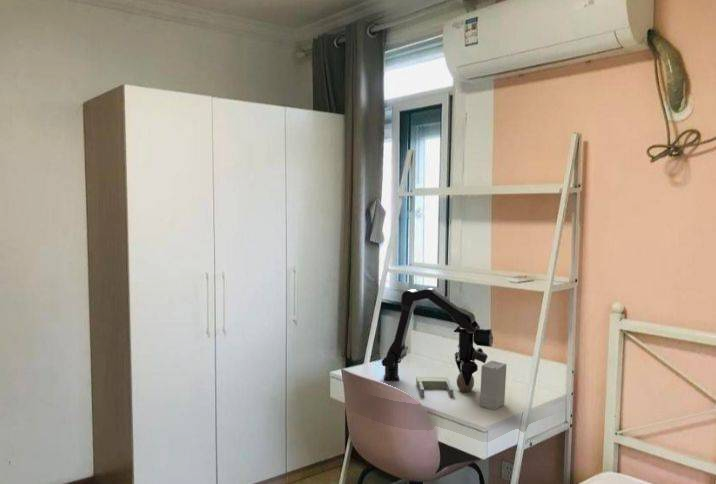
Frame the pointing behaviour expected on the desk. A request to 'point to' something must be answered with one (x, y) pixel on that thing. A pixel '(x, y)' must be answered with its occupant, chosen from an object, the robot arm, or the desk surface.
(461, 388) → the brown oval solid
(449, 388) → the green u-shaped bracket
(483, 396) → the skincare box
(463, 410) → the desk surface
